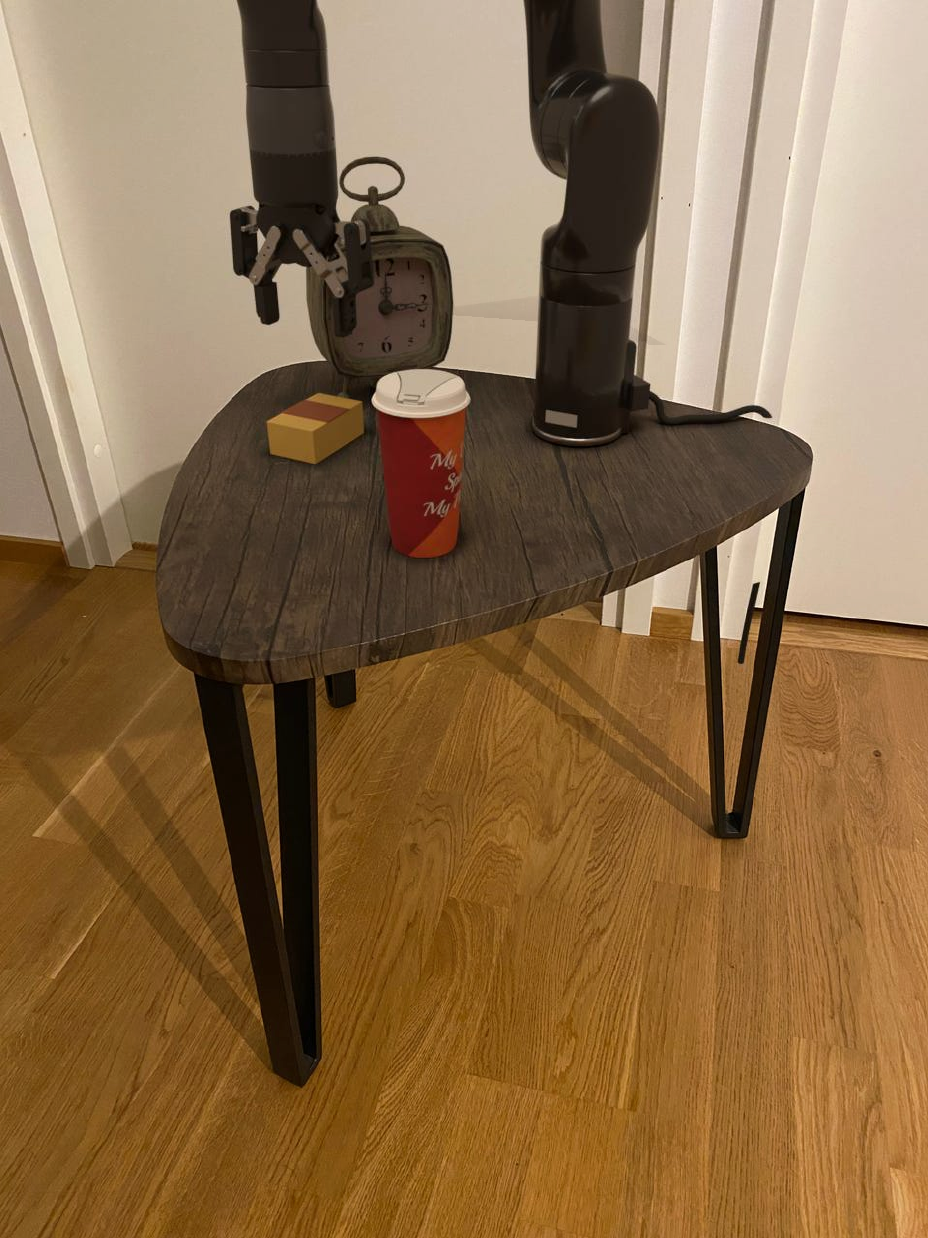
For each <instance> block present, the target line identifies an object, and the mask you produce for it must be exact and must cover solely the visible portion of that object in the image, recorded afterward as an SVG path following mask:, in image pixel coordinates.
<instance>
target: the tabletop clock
mask: <svg viewBox="0 0 928 1238" xmlns="http://www.w3.org/2000/svg"><path fill="white" fill-rule="evenodd" d="M377 164H378V165H386V166H389V167H391V168H393V169H394V170H395V171H396V172H397V173H398V175H399V179H400V181H399V184H398V185H397V186H396V187H395V188H393V189H390V190H388V191H386V192H383V193H379V189H378V187H377V186H374V185H371V186H369V187H368V189H367V194H360V193H356V192H352V191H350V190H348V189H347V188H346V186H345V184H344V183H345V179H346V177H347V175H348V174H349V173H350V172H351V171H352V170H354V169H356V168H357V167H361V166H366V165H377ZM405 176H406V175H405V173H404V171H403V169H402V167H401V166H400V164H398V163H397V162H396V161H395V160H392V159H390V158H388V157H386V156H385V157H384V156H364V157H360V158H357V159H354V160H352V161H351V162H349V163H347V165H346V166H344V168H343V169H342V170H341V173H340V176H339V180H338V185H339V188H340V189H341V192H342V193H343V194H344V195H345V196H347V197H348V198H349V199H352V200H353V201H357V202H361V203H368V204H364V205H361V206H360V207H358V208H357V209H355V211H354V213H353V215H352V216H351V219H350V222H353V221H357V220H360V219H366V220H367V221H368V223H369V226H370V237H371V249H372V260H373V271H374V285H373V286H372V287H370V288H368V289H366V290H363V291H361V292H359V293H357V294H356V315H357V317H356V318H357V325H356V328H355V329H353V332H352V333H351V334H350V335H348V336H346V337H344V338H342V337H336V336H335V333H334V317H333V301H332V298H333V297H335V295H334V294H333V292H332V290H331V289H330V287H329V286H328V284H327V282H326V281H325V279H324V278H321V277H320V276H319V275H318V274H317V273H316V271H315V269H314V268H313V266H312V267H305V280H306V281H305V288H306V289H305V292H306V295H305V296H306V297H305V298H306V305H307V311H308V318H309V324H310V331H311V334H312V337H313V341H314V343H315V345H316V347H317V349H318V351H319V353H320V355H321V356H322V357H323V358H324V359H325V360H326V362H327V363H328V364H329V365H330V367H331V368H332V369H333V370H334V371H335V373H336V374H337V375H339V376H342V377H343V385H342V390H341V391H340V392H339V393H337V394H336V396H337V397H342V398H347V399H351V397H350V395H349V393H348V391H349V388H350V385H351V382H352V379H368V383H369V386H370V387H371V388H373V389H376V387H377V383H378V382H379V380H380V379H381V378H382V377H384V376H386V375H388V374H391V373H394V372H396V373H397V372H399V371H405V370H414V369H432V368H434V367H436V366H438V365H440V364H442V363H443V362H445V359H446V357H447V355H448V352H449V349H450V345H451V340H452V331H453V318H454V317H453V316H454V293H453V278H452V270H451V264H450V260H449V256H448V254H447V252H446V249H445V247H444V245H443V244H442V243H440V242H438V241H437V240H435V239H434V238H432V237H431V236H429V235H427V234H425V233H423V232H422V231H420V230H418V229H415V228H414V227H410V226H405V225H400V223H399V219H398V217H397V216H396V214H395V212H394V211H393V210H392V209H391V208H390V207H389V206H387V205H385V204H380V203H379V202H382V201H387V200H389V199H391V198H393V197H395V196H397V195H398V194H399V193H400V192H401V191H402V189H403V187H404V185H405V182H406V177H405ZM341 240H342V239H341V237H340V236H339V237H338V239H337V241H336V243H337V245H338V247H339V248H340V250H341V252H342V253H343V255H344V256H345V258H346V250H345V246H344V245H342V244H341ZM326 261H327V262H331V260H330V258H329V257H327V258H326Z"/></svg>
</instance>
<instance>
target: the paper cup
mask: <svg viewBox="0 0 928 1238" xmlns="http://www.w3.org/2000/svg"><path fill="white" fill-rule="evenodd" d="M470 403H471V396H470V394H469V392H468V391H467V389H466V384H465V382H464V380H463V379H462V378H461V377H460V376H458V375H456V374H454V373H451V372H448V371H444V370H438V369H431V368H429V369H414V370H405V371H399V372H397V373H396V372H394V373H391V374H388V375H386V376H384V377H382V378H381V379H380V380H379V382H378V383H377V387H376V388H375V392H374V394H373V395H372V397H371V404H372V405H373V407H374V408H375V409H376V417H377V426H378V435H379V444H380V453H381V462H382V463H381V464H382V471H383V482H384V490H385V499H386V508H387V516H388V525H389V526H388V527H389V533H390V538H391V544H392V547H393V548H394V551H396V552H398V553H399V554H401V555H404V556H406V557H411V558H416V559H429V558H430V559H431V558H436V557H441V556H444V555H446V554H448V553H450V552H451V551H453V550H454V549H455V548H456V546H457V543H458V537H459V536H458V535H459V526H460V525H459V523H460V513H461V509H460V508H461V497H462V495H461V494H462V479H463V463H464V462H463V461H464V448H465V447H464V446H465V445H464V443H465V429H466V411H467V407H468V405H469V404H470Z"/></svg>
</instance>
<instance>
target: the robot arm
mask: <svg viewBox="0 0 928 1238" xmlns="http://www.w3.org/2000/svg"><path fill="white" fill-rule="evenodd" d="M236 3H237V7H238V11H239V16H240V24H241V48H242V57H243V66H244V68H243V69H244V78H245V79H244V80H245V84H246V85H245V92H246V93H245V95H246V97H245V100H246V101H245V119H246V130H247V142H248V150H249V160H250V170H251V180H252V192H253V197H254V200H255V201H256V202H257V203H258V210H257V209H256V208H255V207H254V206H253V205H246V206H241V207H237V208H235V209H234V208H233V209H232V210H231V211H230V212H229V224H230V225H229V226H230V241H231V242H230V243H231V256H232V257H231V258H232V270H233V272H234V274H235V275H236V276H238V277H242V276H243V277H244V278H247V279H248V280H249V281H250V283H251V285H253V292H254V301H255V312H256V315H257V317H258V318H259V321H260V324H261V325H264V326H265V325H266V326H270V325H273V324H276V323H278V322H279V320H280V318H281V317H280V316H281V315H280V303H279V294H278V283H277V281H273V279H274V278H275V276H276V275H277V273H278V271H279V269H280V268H281V266H282V265H293V264H296V265H298V266H300V267H303V268H306V267H312V266H313V268H314V269H315V271H316V273H317V274H318V275H319V276H320V277H321V278H324V279H325V281H326V282H327V284H328V286H329V287H330V289H331V290H332V292H333V294H334V295H335V297H333V298H332V301H333V317H334V333H335V336H336V337H342V338H344V337H346V336H348V335H350V334H351V333H352V332H353V329H355V328H356V325H357V318H356V317H357V315H356V294H357V293H359V292H361V291H363V290H366V289H368V288H370V287H372V286H373V285H374V271H373V260H372V249H371V237H370V226H369V223H368V221H367V220H366V219H360V220H357V221H353V222H351V220H350V221H348V220H341V219H340V217H339V214H338V211H337V204H338V203H337V202H338V198H339V180H338V161H337V160H338V159H337V144H336V143H337V142H336V126H335V125H336V124H335V123H336V121H335V112H334V105H333V100H332V93H331V86H330V70H329V69H330V68H329V52H328V39H327V37H328V36H327V30H326V29H327V28H326V23H325V19H324V16H323V14H322V12H321V10H320V7H319V4H318V0H236ZM523 7H524V9H523V10H524V16H525V17H524V20H525V32H526V33H525V34H526V56H527V57H526V59H527V84H528V85H527V86H528V89H527V90H528V111H529V126H530V127H529V128H530V135H531V140H532V144H533V147H534V151H535V153H536V156H537V157H538V159H539V161H540V163H541V165H543V167H544V168H545V169H546V170H547V171H548V172H549V173H550V174H552V175H554V176H556V177H557V178H559V179H562V180H565V181H566V182H565V191H564V192H565V193H564V202H563V211H562V215H561V217H560V219H559V221H558V222H557V223H554V224H551V225H550V226H548V227H547V228H545V230H544V231H543V233H542V235H541V238H540V239H541V240H540V253H539V254H540V257H539V260H540V261H539V277H538V278H539V281H538V302H537V303H538V306H537V325H536V326H537V327H536V329H537V330H536V354H535V374H534V375H535V378H534V402H533V417H532V426H531V427H532V428H531V429H532V431H533V433H534V434H535V435H536V436H537V437H538V438H540V439H542V440H545V441H546V442H549V443H553V444H557V445H563V446H568V447H593V446H600V445H604V444H608V443H610V442H613V441H615V440H617V439H618V438H619V437H620V436H621V435H623V434H628V433H629V430H630V422H631V421H630V420H631V412H636V411H641V410H647V409H649V402H650V401H651V402H652V403H653V404H654V406H655V411H656V416H657V419H658V420H659V422H661V423H663V424H665V425H669V426H677V425H681V424H686V423H714V422H718V423H719V422H723V421H728V420H732V419H734V418H735V419H736V418H739V417H740V416H743V415H746V414H751V413H756V414H758V415H759V416H761V417H762V418H764V419H772V418H773V416H772V414H771V413H770V411H769V410H768V409H766V408H765V407H763V406H761V405H756V404H748V405H745V406H740V407H738V408H734V409H732V410H729V411H726V412H721V413H713V414H710V413H709V414H685V415H680V416H675V417H674V416H673V417H669V416H667V415H666V413H665V408H664V403H663V400H662V399H661V398H660V397H659V395H657V394H656V393H655V392H653V391H651V383H649V382H648V381H647V380H644V379H643V378H641V377H639V376H637V375H636V374H635V369H636V359H637V348H638V346H637V343H636V342H635V341H634V340H632V339H630V334H631V324H632V314H633V313H632V311H633V301H634V289H635V278H636V269H637V258H638V252H639V247H640V245H641V243H642V241H643V239H644V236H645V235H646V232H647V230H648V226H649V221H650V215H651V210H652V203H653V197H654V196H653V195H654V190H655V183H656V175H657V168H658V163H659V162H658V161H659V152H660V145H661V144H660V143H661V119H660V113H659V107H658V104H657V102H656V99H655V97H654V94H653V93H652V91H651V90H650V89H649V87H647V86H646V85H645V84H644V83H643V82H642V81H640V80H638V79H636V78H635V77H632V76H628V75H624V74H618V73H611V72H609V71H608V67H607V61H606V55H605V54H606V53H605V46H604V38H603V37H604V35H603V25H602V24H603V23H602V0H523ZM259 231H260V233H261V234H262V236H263V238H264V239H265V240H264V241H263V243H262V245H261V247H260V249H259V242H258V241H259V240H258V232H259ZM339 236H340V237H341V239H342V240H341V244H342V245H344V246H345V250H346V258H345V256H344V255H343V253H342V252H341V250H340V248H339V247H338V245H337V243H336V241H337V239H338V237H339ZM327 257H329V258H330V260H331V262H327V261H326V258H327ZM760 585H761V581H758V582H754V583H752V586H751V591H750V595H749V599H748V604H747V609H746V614H745V618H744V623H743V627H742V633H741V638H740V642H739V643H740V645H739V650H738V657H737V661H736V662H737V664H739V665H743V664H744V663H745V660H746V659H745V658H746V654H747V653H746V652H747V647H748V641H749V636H750V631H751V626H752V622H753V617H754V612H755V607H756V603H757V599H758V593H759V589H760V587H761V586H760Z"/></svg>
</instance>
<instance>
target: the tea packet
mask: <svg viewBox="0 0 928 1238" xmlns="http://www.w3.org/2000/svg"><path fill="white" fill-rule="evenodd" d="M363 407H364V406H363V401H362V400H358V399H352V398H350V399H347V398H342V397H337V395H331V394H326V393H322V392H321V393H320V392H317V393H316V394H314V395H312V396H310V397H308V398H306V399H303V400H301V401H299V402H297V403H295V404H294V405H292V406H290V407H287V408H286V409H284V410H282V411H281V412H280V413H279V414H278V415H276V416H274V417H272V418H271V419H269V420H266V428H267V436H268V444H269V454H270V455H273V456H277V457H280V458H285V459H290V460H295V461H298V462H304V463H307V464H312V465H317V464H318V463H320V462H322V461H323V460H325V459H326V458H328V457H329V456H332V455H333V454H334V453H336V452H338V451H339V450H340V449H342V448H343V447H345V446H347V445H348V444H349V443H351V442H352V441H354V440H355V439H358V438H359V437H360V436H362V435H363V434H365V427H364V409H363Z"/></svg>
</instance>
